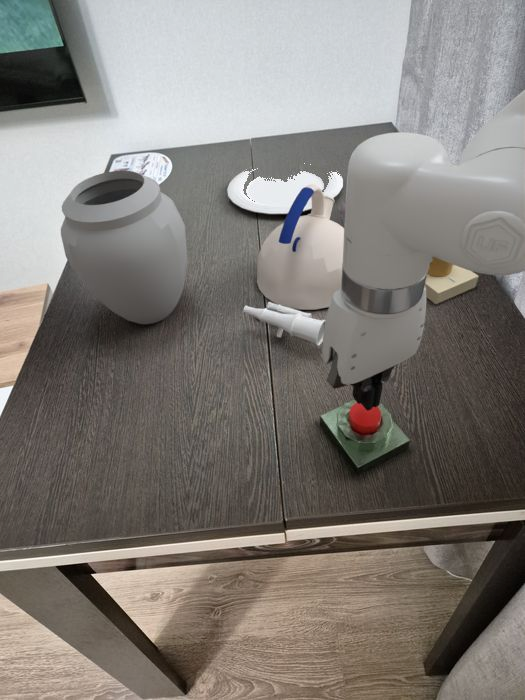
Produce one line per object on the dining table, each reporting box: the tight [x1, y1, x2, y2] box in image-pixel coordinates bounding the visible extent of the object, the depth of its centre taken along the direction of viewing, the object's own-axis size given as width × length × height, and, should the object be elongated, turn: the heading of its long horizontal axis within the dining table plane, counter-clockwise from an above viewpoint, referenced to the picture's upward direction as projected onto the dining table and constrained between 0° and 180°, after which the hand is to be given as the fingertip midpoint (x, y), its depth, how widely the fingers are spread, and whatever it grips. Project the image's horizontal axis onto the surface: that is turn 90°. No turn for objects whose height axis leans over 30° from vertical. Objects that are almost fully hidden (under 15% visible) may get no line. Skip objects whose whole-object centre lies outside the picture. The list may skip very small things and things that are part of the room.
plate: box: [226, 163, 344, 216], centre depth 110 cm, size 29×29×2 cm
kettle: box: [256, 184, 344, 311], centre depth 79 cm, size 20×21×18 cm
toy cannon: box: [242, 301, 326, 347], centre depth 72 cm, size 8×14×5 cm
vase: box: [60, 170, 188, 325], centre depth 74 cm, size 20×20×24 cm
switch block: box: [319, 398, 411, 476], centre depth 58 cm, size 9×8×4 cm
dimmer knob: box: [427, 256, 453, 277], centre depth 78 cm, size 5×5×5 cm
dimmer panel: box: [425, 265, 480, 305], centre depth 80 cm, size 11×9×3 cm
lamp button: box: [349, 403, 381, 434], centre depth 56 cm, size 4×4×2 cm
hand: (365, 400), depth 54 cm, fingers closed
